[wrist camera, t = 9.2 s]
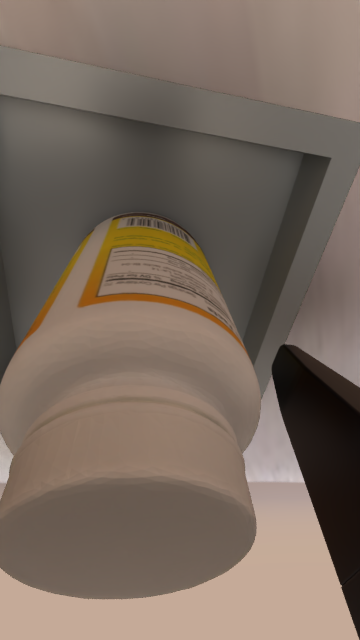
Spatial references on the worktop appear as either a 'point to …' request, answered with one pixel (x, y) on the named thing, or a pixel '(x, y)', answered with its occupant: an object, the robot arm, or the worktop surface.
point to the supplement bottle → (129, 423)
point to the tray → (165, 186)
